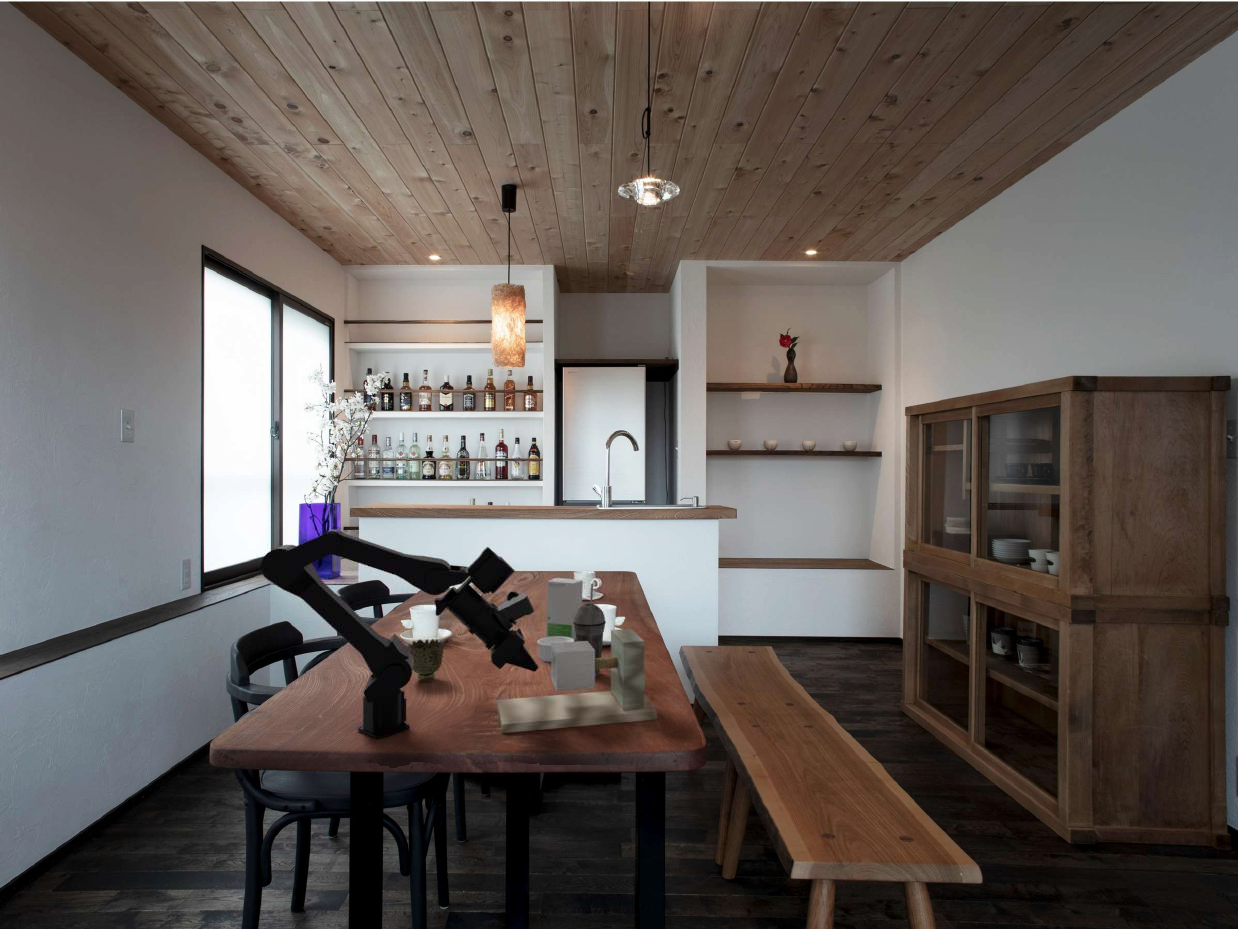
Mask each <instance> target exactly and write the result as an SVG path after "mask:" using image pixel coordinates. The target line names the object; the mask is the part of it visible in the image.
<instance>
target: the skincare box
mask: <svg viewBox="0 0 1238 929" xmlns="http://www.w3.org/2000/svg"><path fill="white" fill-rule="evenodd" d="M583 584H584V581H583V579H574V578H562V577H555V578H552V579H549V580H548V581H547V592H546V593H547V594H546V618H545V619H546V622H545V638H546V637H556V636H561V637H569V638H572V639H574V641H576V632H575V629H574V624H573V622H574V617H575V614H576V612H577V610H578V609H579V608H580V607H581V606H583V586H584V585H583Z"/></svg>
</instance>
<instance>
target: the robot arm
mask: <svg viewBox="0 0 1238 929" xmlns="http://www.w3.org/2000/svg"><path fill="white" fill-rule="evenodd" d="M331 555H332V556H335V557H336V556H337V557H340V558H343V559H345V560H349V561H351V562H352V561H353V562H354V563H358V564H361V565H364V566H366V567H370V568H373V569H376V570H379V571H383V572H385V573H388V574H391V575H394V576H397V577H398V578H400V579H402V580H404V581H406V582H407V583H408V584H410V585H411V586H413V587H415V588H417V589H418V590H421V591H422V592H424V593H425V594H428V595H430V596H439V595H441V594H444V593H445V592H446V593H445V594H444V595H443V596H442V597H436V598H434V605H435V615H436V616H437V617H439V616H440V615H441V614H442V613H443V612H445V610H447V611H448V612H450V613H451V614H452V616H453V617H455V618H456V619H457V620H459V622H460V623H462V624H463V625H464V626H465V627H466V628H467V629H468V630H467V631H468V632H469V633H470V634H471V635H472V636H476V637H477V638H478V639H479V640H481V642H482V643H483V644H484V647H485V648H486V649H487V650H488V651H490V661H491V663H492V664H493V665H494V666H495V667H496V668H498V669H499V670H500V669H503V668H504V666H506V664H508V665H511V666H515V667H518V668H521V669H524V670H529V671H531V672H536V671H538V669H539V664H537V662H536V661H535V659H534V658H533V656H532V655H531V654H530V652H529V650H528V649H527V648H526V647H525V642H526V641H525V639H524V635H523V632H522V630H521V628H518V629H517V630H516V629H515V630H513V629H512V628H513V627H514V626H515V625H517V623H518V621H517V620H519V619H521V618H523V617H525V616H529V615H531V614H533V613H534V612H535V609H534V607H533V605H532V603H531V601H530V599H529V597H528V595H527V593H526V592H520V593H518V592H517V591H516V590H514V589H512V590H511V591H509V592H507V593H506V601H503V602H502V603H501V604H500V605H497V604H495V603H494V602H490V601H488V600H486V599H485V598H484V597H483V595H481V594H480V593H479V592H478V591H477V590H476V589H478V590H479V591H480V592H481V593H482V594H484V595H486V594H487V595H488V594H490V593H491V594H493V595H494V594H495V593H496V592H497V591H498V590H499V589H500V588H501V587H502V586H503V584H505V583H506V581H507V580H508V579H509V578H510V577H511V576H513V574H514V573H515V572H516V571H515V569H514V568H513V567H512V566H511V565H510V564H509V563H508V562H507V561H506V560H505V559H504V558H503V557H502V556H500V555H498V554H497V553H496V552H495V551H493V550H492V549H491V548H490V547H489V546H486V547H485V548H484V549H483V550H482V551H481V553H480V555H479V556H478V557H477V558H476V559H475V560H474V561H473V562H472V563H471V564H470V565H469V566H464V565H455V564H454V565H453V564H450V563H449V562H448V561H447V560H445V559H443V558H439V557H432V556H425V555H416V554H415V555H414V554H408V553H403V552H401V551H398V550H396V549H392V548H388V547H386V546H383V545H381V544H378V543H374V542H371V541H369V540H366V539H362V538H359V537H357V536H354V535H351V534H347V533H346V532H343V531H342V530H340V529H337V528H335V529H329V530H328V531H325V532H324V533H322V534H321V535H319V536H317V537H314V538H311V539H310V540H306V541H305V542H302V543H300V544H298V545H294V544H283V545H281V546H280V545H279V546H278V547H275V548H274V549H271V550H270V551H269V552H267V553H266V554H265V555H264V556H263V558H262V561H261V562H260V564H261V566H260V572H261V575H262V576H263V577H264V578H265V579H266V580H267V581H269V582H270V583H272V584H273V585H275V586H276V587H278V588H280V589H281V590H282V591H285V592H287V593H289V594H291V595H294V596H295V597H298V598H300V599H301V600H303V601H304V603H306V604H307V605H308V606H309V607H310V608H311V609H312V610H313V611H314V612H316V614H318V615H319V616H320V617H321V618H322V619H323V621H325V622H326V623H327V624H328V625H329V626H330V627H331V628H332V629H334V631H336V633H338V634H339V635H340V637H342V638H343V639H344V640H345V641H347V642H348V643H349V644H350V645H351V646H352V647H353V649H355V650H356V651H357V652H358V653H359V654H360V655H361V656H362V658H363V660H364V662H365V664H366V666H367V667H368V668H367V669H369V671H370V673H371V674H370V676H369V677H368V680H367V682H366V685H365V688H364V690H363V695H362V725H360V726H358V727H357V731H359V732H361V733H364V734H366V735H369V736H370V737H373V738H375V739H380V738H383V737H387V736H390V735H393V734H396V733H399V732H401V731H404V730H406V729H407V730H408V729H410V726H411V724H410V723H407V698H406V697H405V690H402V689H403V688H404V687H406V686H407V684H409V682H410V681H411V679H412V675H413V672H414V670H413V666H414V660H413V656H412V655H411V653H410V650H411V647H409V645H406V644H404V642H402V640H401V639H400V638H399V637H398V635H397V634H396V633H394V634H393V635H392V636H391V637H390V638H387V637H385V636H383V635H381V634H379V633H378V632H377V631H376V630H375V629H374V628H373V627H372V626H371V625H370V624H368V623H367V622H366V621H365V620H364V619H363V618H362V617H361V616H360V615H359V614H358V613H357V612H356V611H355V610H354V609H352V608H351V607H350V606H349V604H347V603H346V602H345V600H343V599H342V598H341V597H340V596H339V595H338V594H337V593H336V592H335V591H333V590H332V589H331V587H329V586H328V585H327V584H326V583H325V582H324V581H323V580H322V578H320V575H319V574H318V572H317V570H316V568H315V567H314V564H313V563H315V562H318V561H320V560H322V559H323V558H326V557H328V556H331ZM471 583H472V584H473V586H475V587H476V589H475V588H473V587H472V585H470V584H471ZM458 585H460V586H459V587H458V588H456V587H454V586H458Z"/></svg>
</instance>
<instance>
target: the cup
mask: <svg viewBox="0 0 1238 929" xmlns="http://www.w3.org/2000/svg"><path fill="white" fill-rule="evenodd" d="M411 642H412V645H411V644H410V643H408V647H411V650H410V653H411V655H412V656H413V660H414V666H413V672H415V673H416V674H417V680H419V682H431V681H433V680H434V679H435V678H436V672H437V671H438V670H439V669H440V668H441V666H442V663H443V655H444V649H445V648H444V645H445V641H442V640H440V641H439V640H438V639H433V638H432V639H431V640H430V641H429V639H428V638H427V639H425V641H423V640H422V639H418V640H413V641H411Z"/></svg>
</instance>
